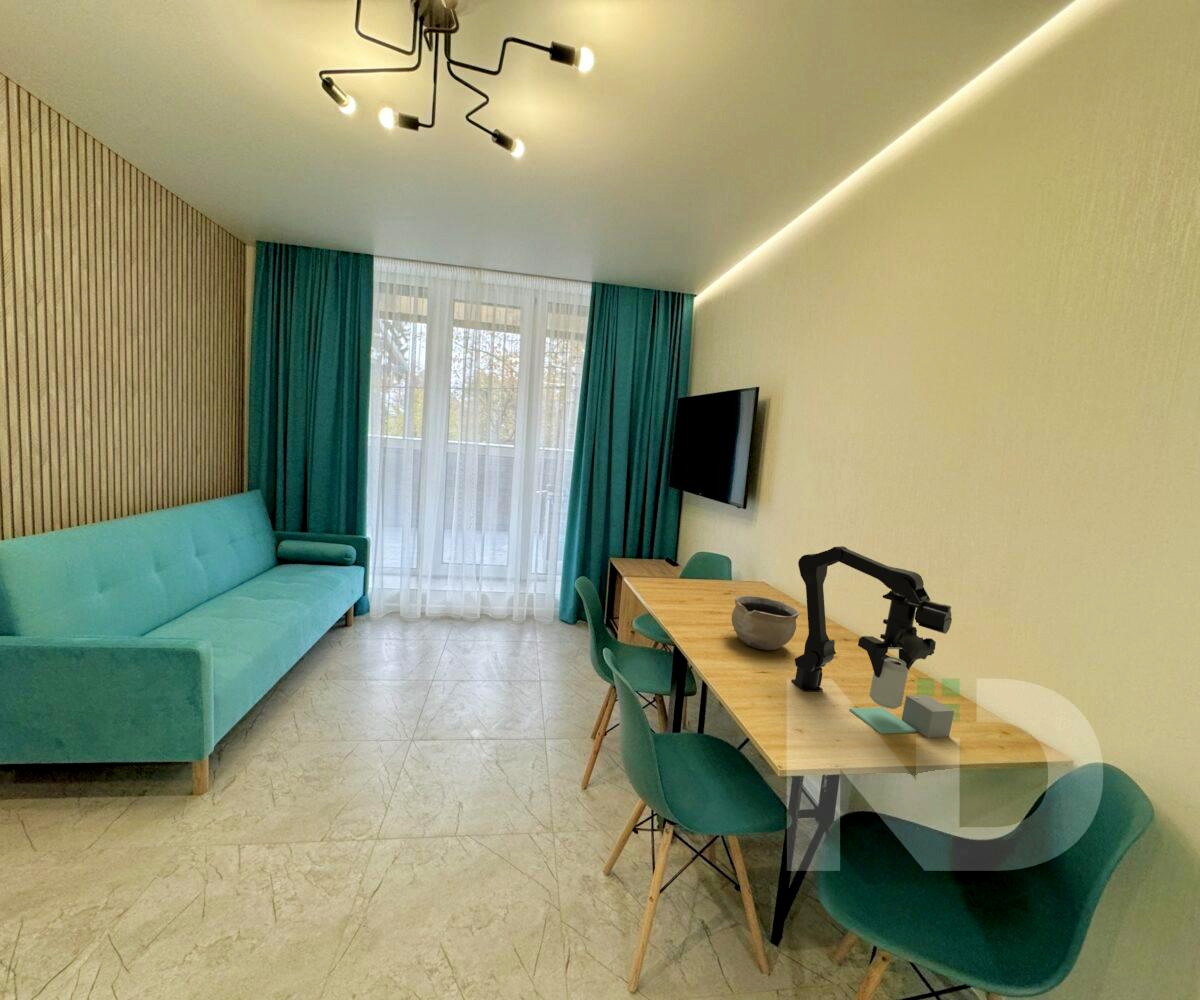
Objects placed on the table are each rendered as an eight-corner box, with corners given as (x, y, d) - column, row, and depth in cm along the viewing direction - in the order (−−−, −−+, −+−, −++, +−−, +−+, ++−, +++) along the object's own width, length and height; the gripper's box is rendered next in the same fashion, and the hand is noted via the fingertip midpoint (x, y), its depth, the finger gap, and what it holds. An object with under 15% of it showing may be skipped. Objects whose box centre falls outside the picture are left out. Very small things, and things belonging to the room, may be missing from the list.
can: (900, 713, 129) (909, 668, 127) (867, 702, 132) (875, 659, 131) (901, 702, 135) (909, 659, 134) (869, 692, 139) (877, 650, 137)
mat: (880, 733, 127) (881, 731, 127) (849, 710, 138) (849, 708, 138) (915, 732, 130) (916, 729, 130) (882, 709, 141) (882, 707, 141)
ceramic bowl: (715, 634, 185) (721, 594, 183) (761, 631, 194) (767, 593, 193) (758, 661, 165) (765, 616, 163) (806, 656, 174) (813, 614, 173)
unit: (927, 737, 128) (932, 710, 127) (901, 720, 136) (906, 694, 135) (950, 736, 130) (955, 710, 129) (923, 719, 138) (928, 694, 137)
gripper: (896, 631, 121) (884, 692, 123) (957, 632, 126) (945, 691, 128) (861, 614, 132) (851, 671, 133) (919, 616, 136) (908, 671, 138)
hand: (889, 676), depth 133 cm, fingers closed on can, 7 cm apart
